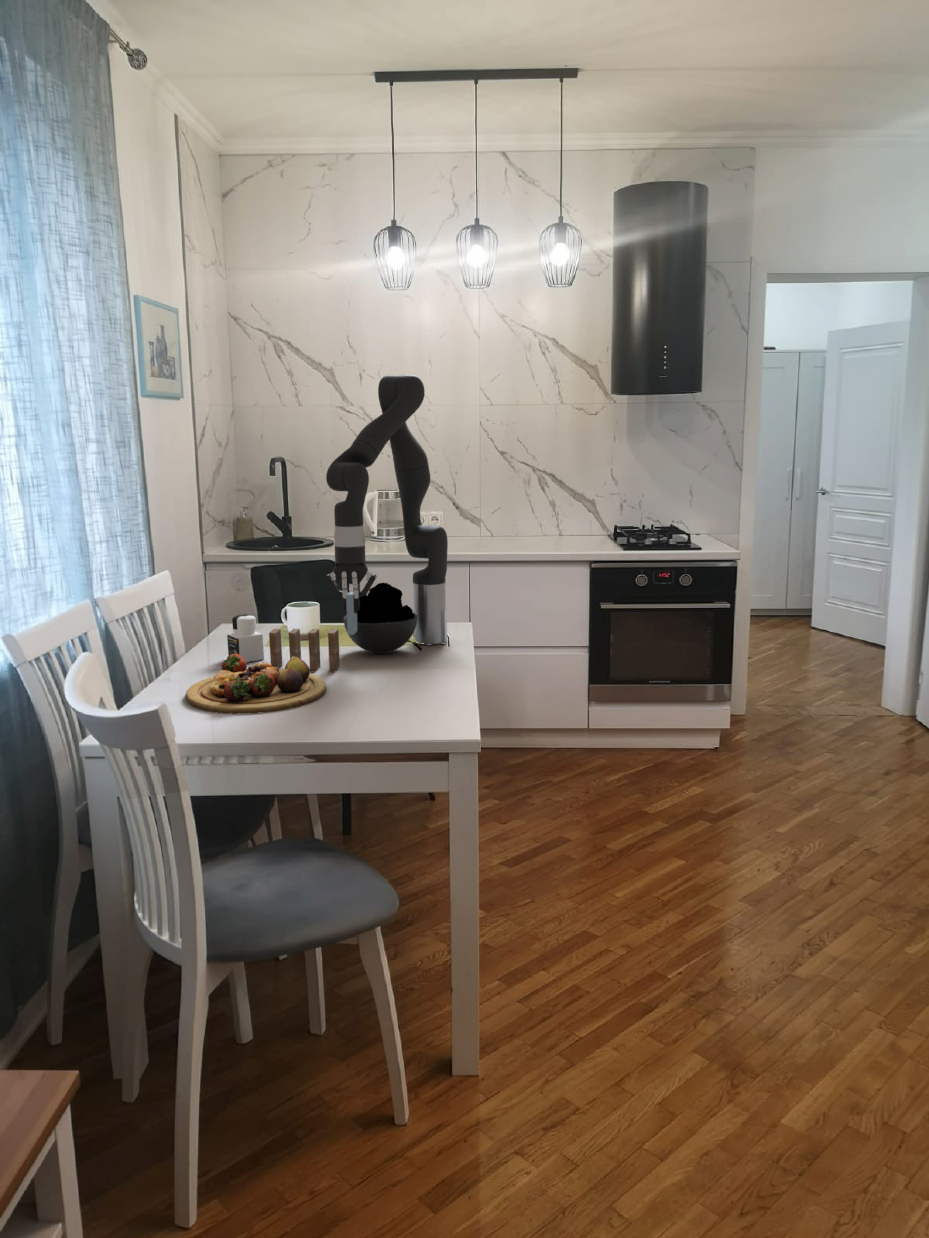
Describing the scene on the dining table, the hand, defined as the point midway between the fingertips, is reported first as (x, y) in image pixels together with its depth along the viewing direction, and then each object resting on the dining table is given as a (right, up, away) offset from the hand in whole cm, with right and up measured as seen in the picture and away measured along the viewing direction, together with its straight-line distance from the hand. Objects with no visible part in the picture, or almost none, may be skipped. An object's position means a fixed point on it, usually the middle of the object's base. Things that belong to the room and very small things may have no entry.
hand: (352, 612), depth 242 cm
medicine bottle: (-30, -13, +15) cm, 36 cm away
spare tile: (0, -5, +1) cm, 5 cm away
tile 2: (-5, -14, +3) cm, 16 cm away
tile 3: (-10, -14, +4) cm, 18 cm away
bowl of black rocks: (+6, -11, +21) cm, 25 cm away
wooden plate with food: (-20, -20, -19) cm, 34 cm away
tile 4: (-15, -14, +4) cm, 21 cm away
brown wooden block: (-20, -14, +4) cm, 25 cm away
